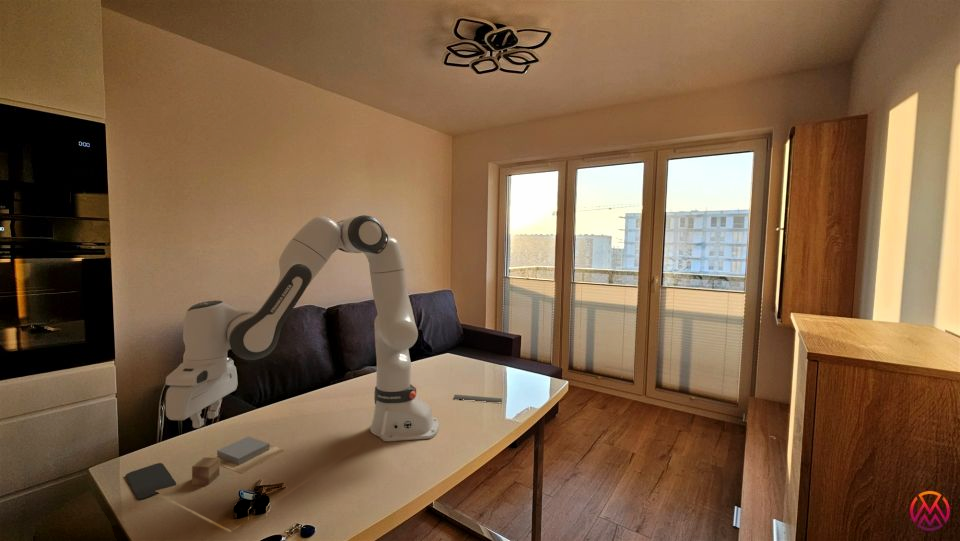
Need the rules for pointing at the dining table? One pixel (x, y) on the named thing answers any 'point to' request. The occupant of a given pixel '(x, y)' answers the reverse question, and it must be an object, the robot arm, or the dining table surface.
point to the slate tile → (243, 450)
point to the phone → (149, 480)
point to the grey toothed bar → (478, 398)
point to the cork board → (251, 462)
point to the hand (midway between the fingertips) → (205, 421)
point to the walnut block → (205, 471)
